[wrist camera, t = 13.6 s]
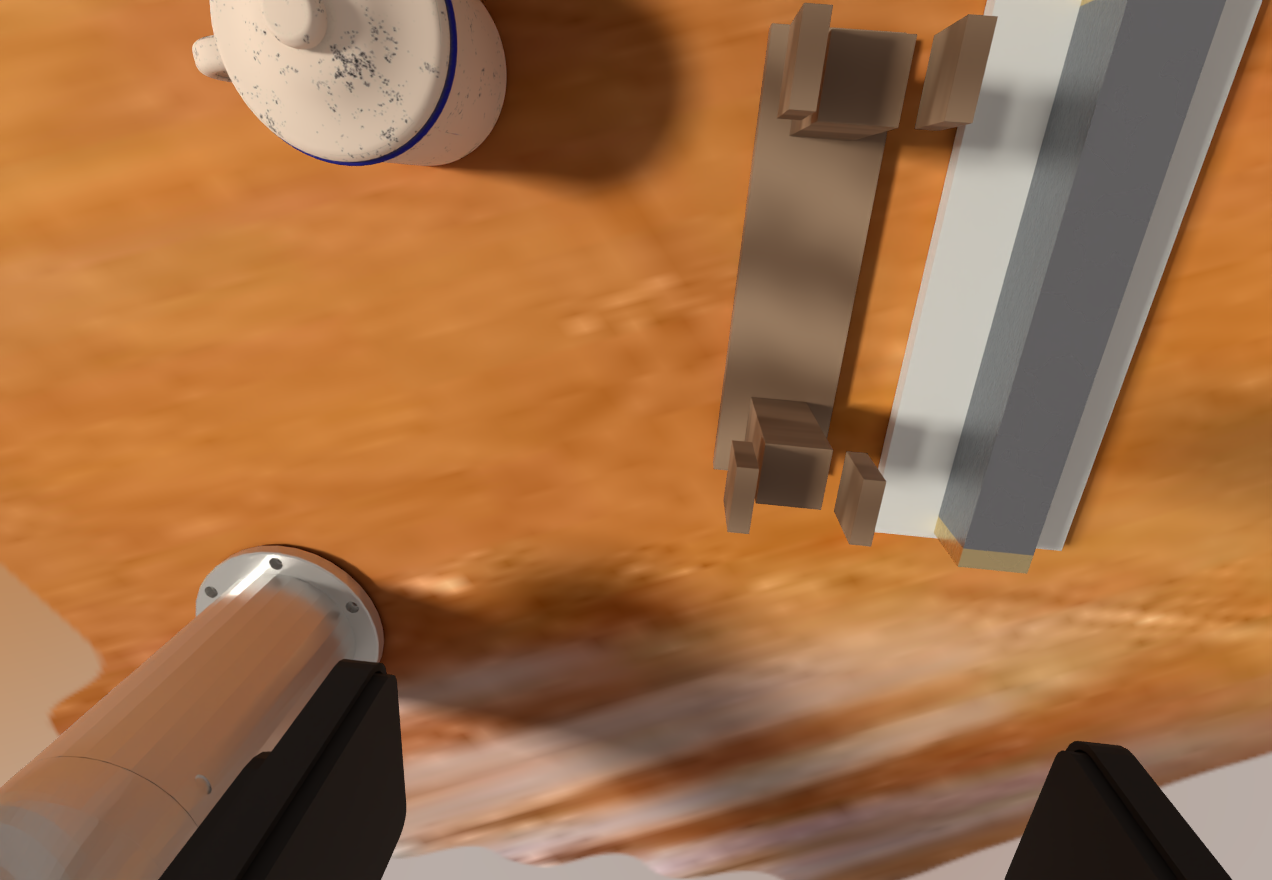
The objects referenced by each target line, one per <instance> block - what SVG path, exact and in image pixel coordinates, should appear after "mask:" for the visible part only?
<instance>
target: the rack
mask: <svg viewBox="0 0 1272 880" xmlns="http://www.w3.org/2000/svg"><path fill="white" fill-rule="evenodd" d="M832 8H833V5H826V4H811V3H804V4H803V6H802V7H801V9H800V10H799V12H798V14H797V15H796V17H795V18H794V20H793V21H792V23H791V25H787V24H773V23H772V24H771V26H770V28H769V35H768V43H767V51H766V58H765V66H764V74H763V81H762V89H761V97H760V105H759V112H758V120H757V128H756V135H755V143H754V151H753V158H752V166H751V174H750V182H749V189H748V197H747V205H746V212H745V220H744V228H743V236H742V243H741V251H740V259H739V266H738V274H737V282H736V290H735V297H734V305H733V313H732V320H731V328H730V336H729V343H728V351H727V359H726V367H725V374H724V382H723V390H722V397H721V405H720V413H719V421H718V428H717V436H716V444H715V451H714V459H713V466H714V469H720V470H728V473H727V480H726V487H725V494H724V507H725V515H726V523H727V531H728V532H734V533H744V534H749V530H750V524H751V518H752V511H753V505H754V499H755V501H756V503H758V504H768V505H778V506H788V507H798V508H808V509H818V510H821V507H822V502H823V497H824V492H825V487H826V482H827V477H828V472H829V468H830V463H831V458H832V453H833V449H832V447H831V445H830V444H829V442H828V440H827V435H828V430H829V425H830V420H831V415H832V410H833V405H834V400H835V395H836V390H837V385H838V379H839V374H840V369H841V364H842V359H843V354H844V349H845V344H846V339H847V334H848V329H849V324H850V319H851V314H852V308H853V303H854V298H855V293H856V288H857V283H858V278H859V273H860V268H861V263H862V258H863V253H864V248H865V243H866V237H867V232H868V227H869V222H870V217H871V212H872V207H873V202H874V197H875V192H876V187H877V182H878V177H879V172H880V166H881V161H882V156H883V151H884V146H885V141H886V136H887V131H889V130H892V129H896V128H898V127H899V122H900V117H901V112H902V107H903V102H904V97H905V92H906V87H907V82H908V77H909V72H910V67H911V62H912V57H913V52H914V48H915V43H916V38H917V34H907V33H901V32H887V31H873V30H858V29H844V28H830V21H831V14H832ZM997 19H998V16H985V15H971V14H968V15H967V16H965V17H964V18H962V19H960V20H959V21H957V22H956V23H954V24H952V25H951V26H949V27H947V28H946V29H944V30H943V31H941V32H939V33H938V34H936V35H935V36H934V39H933V44H932V49H931V54H930V58H929V63H928V68H927V72H926V77H925V82H924V87H923V91H922V96H921V101H920V106H919V110H918V115H917V120H916V125H915V129H921V130H934V131H941V130H945V129H949V128H954V127H958V126H962V125H967V124H971V123H973V119H974V115H975V110H976V106H977V102H978V98H979V94H980V90H981V85H982V81H983V77H984V73H985V69H986V65H987V60H988V56H989V52H990V48H991V44H992V40H993V35H994V31H995V27H996V23H997ZM885 486H886V480H885V479H884V477H883V476H882V474H881V473H880V471H879V470H878V468H877V467H876V466H875V464H874V463H873V461H872V460H871V458H870V457H869V455H868V454H867V453H859V452H849V451H847V452H846V457H845V461H844V466H843V471H842V476H841V480H840V485H839V490H838V495H837V499H836V504H835V509H834V512H835V514H836V516H837V519H838V521H839V523H840V525H841V527H842V529H843V532H844V534H845V536H846V538H847V540H848V543H849V544H852V545H862V546H871V544H872V540H873V536H874V532H875V527H876V523H877V519H878V515H879V511H880V507H881V502H882V498H883V494H884V490H885Z"/></svg>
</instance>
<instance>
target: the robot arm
mask: <svg viewBox="0 0 1272 880" xmlns="http://www.w3.org/2000/svg"><path fill="white" fill-rule="evenodd" d="M383 646H384V636H383V627H382V624H381V620H380V617H379V614H378V612H377V610H376V608H375V606H374V604H373V602H372V601H371V599H370V597H369V596H368V595H367V594H366V592H365V591H364V590H363V588H362V587H361V586H360V585H359V584H358V583H357V582H356V581H355V580H354V579H353V578H352V577H351V576H350V575H349V574H347V573H346V572H345V571H343V570H342V569H340V568H339V567H338V566H336V565H335V564H333V563H332V562H330V561H328V560H326V559H324V558H322V557H320V556H318V555H315V554H313V553H310V552H307V551H304V550H300V549H297V548H292V547H285V546H258V547H253V548H249V549H244V550H242V551H240V552H238V553H235V554H233V555H231V556H230V557H228V558H227V559H226V560H224V561H223V562H222V563H220V564H219V565H218V566H216V567H215V568H214V569H213V570H212V571H211V572H210V573H209V574H208V575H207V576H206V578H205V579H204V581H203V583H202V584H201V586H200V588H199V592H198V596H197V599H196V617H195V618H194V619H193V620H192V621H191V622H190V623H189V624H187V625H186V626H185V627H184V628H183V629H182V630H181V631H179V632H178V633H177V634H176V635H175V636H174V637H172V638H171V639H170V640H169V641H168V642H167V643H166V644H164V645H163V646H162V647H161V648H160V649H159V650H158V651H156V652H155V653H154V654H153V655H152V656H151V657H150V658H148V659H147V660H146V661H145V662H144V663H143V664H142V665H140V666H139V667H138V668H137V669H136V670H135V671H134V672H132V673H131V674H130V675H129V676H128V677H127V678H126V679H124V680H123V681H122V682H121V683H120V684H119V685H118V686H116V687H115V688H114V689H113V690H112V691H111V692H109V693H108V694H107V695H106V696H105V697H104V698H103V699H101V700H100V701H99V702H98V703H97V704H96V705H95V706H93V707H92V708H91V709H90V710H89V711H88V712H87V713H85V714H84V715H83V716H82V717H81V718H80V719H79V720H77V721H76V722H75V723H74V724H73V725H72V726H71V727H69V728H68V729H67V730H66V731H65V732H64V733H63V734H61V735H60V736H59V737H58V738H57V739H56V740H55V741H53V742H52V743H51V744H50V745H49V746H48V747H46V748H45V749H44V750H43V751H42V752H41V753H40V754H39V755H37V756H36V757H35V758H34V759H33V760H32V761H30V762H29V763H28V764H27V765H26V766H25V767H24V768H22V769H21V770H20V771H18V772H17V773H16V774H15V775H14V776H13V777H12V778H10V779H9V780H8V781H7V782H6V783H5V784H4V785H2V787H0V880H381V878H382V876H383V874H384V871H385V869H386V867H387V865H388V862H389V860H390V858H391V856H392V853H393V851H394V849H395V847H396V844H397V842H398V840H399V838H400V835H401V832H402V829H403V826H404V822H405V817H406V795H405V782H404V769H403V756H402V743H401V729H400V716H399V703H398V690H397V680H396V677H395V676H394V675H388V674H387V673H386V668H385V666H384V664H383V663H379V662H380V660H381V657H382V653H383ZM1005 880H1232V879H1231V878H1230V876H1229V875H1228V874H1227V873H1226V871H1225V870H1224V869H1223V867H1222V866H1221V865H1220V864H1219V863H1218V861H1217V860H1216V859H1215V857H1214V856H1213V855H1212V854H1211V852H1210V851H1209V850H1208V849H1207V847H1206V846H1205V845H1204V843H1203V842H1202V841H1201V840H1200V838H1199V837H1198V836H1197V835H1196V833H1195V832H1194V831H1193V830H1192V828H1191V827H1190V826H1189V824H1188V823H1187V822H1186V821H1185V820H1184V818H1183V817H1182V816H1181V815H1180V813H1179V812H1178V811H1177V809H1176V808H1175V807H1174V806H1173V804H1172V803H1171V802H1170V801H1169V799H1168V798H1167V797H1166V795H1165V794H1164V793H1163V792H1162V790H1161V789H1160V788H1159V787H1158V785H1157V784H1156V783H1155V782H1154V780H1153V779H1152V778H1151V776H1150V775H1149V774H1148V773H1147V771H1146V770H1145V769H1144V768H1143V766H1142V765H1141V764H1140V763H1139V761H1138V760H1137V759H1136V758H1135V756H1134V755H1133V754H1132V753H1131V752H1130V751H1129V750H1128V749H1126V748H1124V747H1122V746H1118V745H1109V744H1100V743H1091V742H1082V741H1074V742H1073V743H1071V744H1070V745H1069V746H1068V748H1067V749H1066V751H1060V752H1059V753H1058V754H1057V755H1056V757H1055V759H1054V762H1053V764H1052V766H1051V769H1050V771H1049V774H1048V776H1047V778H1046V781H1045V783H1044V786H1043V788H1042V790H1041V793H1040V795H1039V798H1038V800H1037V802H1036V805H1035V807H1034V810H1033V812H1032V814H1031V817H1030V819H1029V822H1028V824H1027V826H1026V829H1025V831H1024V834H1023V836H1022V838H1021V841H1020V843H1019V846H1018V848H1017V850H1016V853H1015V855H1014V857H1013V860H1012V862H1011V865H1010V867H1009V869H1008V872H1007V874H1006V877H1005Z"/></svg>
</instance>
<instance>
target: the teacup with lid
mask: <svg viewBox="0 0 1272 880" xmlns="http://www.w3.org/2000/svg"><path fill="white" fill-rule="evenodd" d="M210 13H211V21H212V27H213V32H214V35H211V36H206V37H203V38H201V39H199V40H197V41H196V42H195V43H194V44H193V47H192V51H193V56H194V60H195V63H196V66H197V68H198V70H199V71H200V72H201V73H203V74H204V75H206V76H208V77H210V78H213V79H217V80H222V81H227V82H233V84H234V86H235V88H236V89H237V91H238V93H239V94H240V96H241V97H242V99H243V100H244V102H245V103H246V104H247V105H248V107H249V108H250V109H251V111H252V112H253V113H254V114H255V115H256V116H257V117H258V118H259V120H260V121H261V122H262V123H263V124H265V125H266V126H267V127H268V128H269V129H270V130H271V131H272V132H273V133H275V134H276V135H277V136H278V137H280V138H281V139H282V140H283V141H285V142H286V143H288V144H289V145H291V146H292V147H294V148H295V149H297V150H299V151H301V152H303V153H305V154H306V155H309V156H311V157H314V158H316V159H319V160H322V161H325V162H328V163H333V164H338V165H347V166H364V165H372V164H377V163H381V162H387V163H398V164H410V165H421V166H436V165H443V164H447V163H451V162H453V161H456V160H459V159H461V158H463V157H465V156H466V155H468V154H469V153H471V152H472V151H473V150H475V149H476V148H477V147H478V146H479V145H480V144H481V143H482V142H483V141H484V140H485V139H486V137H487V136H488V135H489V134H490V132H491V130H492V129H493V127H494V125H495V124H496V122H497V120H498V117H499V115H500V112H501V109H502V106H503V102H504V97H505V92H506V78H507V72H506V60H505V54H504V49H503V45H502V42H501V39H500V36H499V33H498V30H497V28H496V26H495V23H494V22H493V20H492V18H491V16H490V14H489V12H488V11H487V9H486V8H485V6H484V5H483V3H482V2H481V1H480V0H210Z"/></svg>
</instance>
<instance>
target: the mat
mask: <svg viewBox="0 0 1272 880" xmlns="http://www.w3.org/2000/svg"><path fill="white" fill-rule="evenodd" d="M1081 1H1082V0H987V3H986V7H985V11H984V15H985V16H998V19H997V23H996V27H995V31H994V35H993V40H992V44H991V48H990V52H989V56H988V60H987V65H986V69H985V73H984V77H983V81H982V85H981V90H980V94H979V98H978V102H977V106H976V110H975V115H974V119H973V123H971V124H967V125H962V126H958V127H957V132H956V136H955V140H954V145H953V149H952V153H951V157H950V162H949V166H948V170H947V175H946V179H945V183H944V187H943V192H942V196H941V200H940V205H939V209H938V213H937V218H936V222H935V226H934V230H933V235H932V239H931V243H930V248H929V252H928V256H927V261H926V265H925V269H924V273H923V278H922V282H921V286H920V291H919V295H918V299H917V304H916V308H915V312H914V316H913V321H912V325H911V329H910V334H909V338H908V342H907V347H906V351H905V355H904V359H903V364H902V368H901V372H900V377H899V381H898V385H897V390H896V394H895V398H894V402H893V407H892V411H891V415H890V420H889V424H888V428H887V432H886V437H885V441H884V445H883V450H882V454H881V458H880V463H879V467H878V470H879V471H880V473H881V474H882V476H883V477H884V479H885V480H886V486H885V490H884V494H883V498H882V502H881V507H880V511H879V515H878V519H877V523H876V527H875V532H880V533H890V534H900V535H910V536H920V537H929V538H937V537H936V536H935V534H934V530H935V526H936V523H937V519H938V515H939V512H940V508H941V505H942V501H943V497H944V494H945V490H946V487H947V483H948V479H949V476H950V472H951V469H952V465H953V461H954V458H955V454H956V451H957V447H958V443H959V440H960V436H961V433H962V429H963V425H964V422H965V418H966V415H967V411H968V407H969V404H970V400H971V397H972V393H973V389H974V386H975V382H976V379H977V375H978V371H979V368H980V364H981V361H982V357H983V353H984V350H985V346H986V343H987V339H988V336H989V332H990V328H991V325H992V321H993V318H994V314H995V310H996V307H997V303H998V300H999V296H1000V292H1001V289H1002V285H1003V282H1004V278H1005V274H1006V271H1007V267H1008V264H1009V260H1010V256H1011V253H1012V249H1013V246H1014V242H1015V238H1016V235H1017V231H1018V228H1019V224H1020V220H1021V217H1022V213H1023V210H1024V206H1025V202H1026V199H1027V195H1028V192H1029V188H1030V184H1031V181H1032V177H1033V174H1034V170H1035V166H1036V163H1037V159H1038V156H1039V152H1040V148H1041V145H1042V141H1043V138H1044V134H1045V130H1046V127H1047V123H1048V120H1049V116H1050V112H1051V109H1052V105H1053V102H1054V98H1055V94H1056V91H1057V87H1058V84H1059V80H1060V76H1061V73H1062V69H1063V66H1064V62H1065V58H1066V55H1067V51H1068V48H1069V44H1070V41H1071V37H1072V33H1073V30H1074V26H1075V23H1076V19H1077V15H1078V12H1079V8H1080V5H1081ZM1261 3H1262V0H1226V2H1225V5H1224V8H1223V11H1222V14H1221V17H1220V20H1219V23H1218V26H1217V28H1216V31H1215V34H1214V37H1213V40H1212V43H1211V46H1210V49H1209V51H1208V54H1207V57H1206V60H1205V63H1204V66H1203V69H1202V72H1201V74H1200V77H1199V80H1198V83H1197V86H1196V89H1195V92H1194V95H1193V97H1192V100H1191V103H1190V106H1189V109H1188V112H1187V115H1186V118H1185V120H1184V123H1183V126H1182V129H1181V132H1180V135H1179V138H1178V141H1177V143H1176V146H1175V149H1174V152H1173V155H1172V158H1171V161H1170V164H1169V167H1168V169H1167V172H1166V175H1165V178H1164V181H1163V184H1162V187H1161V190H1160V192H1159V195H1158V198H1157V201H1156V204H1155V207H1154V210H1153V213H1152V215H1151V218H1150V221H1149V224H1148V227H1147V230H1146V233H1145V236H1144V238H1143V241H1142V244H1141V247H1140V250H1139V253H1138V256H1137V259H1136V261H1135V264H1134V267H1133V270H1132V273H1131V276H1130V279H1129V282H1128V285H1127V287H1126V290H1125V293H1124V296H1123V299H1122V302H1121V305H1120V308H1119V310H1118V313H1117V316H1116V319H1115V322H1114V325H1113V328H1112V331H1111V333H1110V336H1109V339H1108V342H1107V345H1106V348H1105V351H1104V354H1103V356H1102V359H1101V362H1100V365H1099V368H1098V371H1097V374H1096V377H1095V379H1094V382H1093V385H1092V388H1091V391H1090V394H1089V397H1088V400H1087V403H1086V405H1085V408H1084V411H1083V414H1082V417H1081V420H1080V423H1079V426H1078V428H1077V431H1076V434H1075V437H1074V440H1073V443H1072V446H1071V449H1070V451H1069V454H1068V457H1067V460H1066V463H1065V466H1064V469H1063V472H1062V474H1061V477H1060V480H1059V483H1058V486H1057V489H1056V492H1055V495H1054V497H1053V500H1052V503H1051V506H1050V509H1049V512H1048V515H1047V518H1046V520H1045V523H1044V526H1043V529H1042V532H1041V535H1040V538H1039V541H1038V544H1037V546H1036V548H1039V549H1048V550H1058V551H1062V548H1063V545H1064V543H1065V540H1066V537H1067V534H1068V532H1069V529H1070V526H1071V523H1072V521H1073V518H1074V515H1075V512H1076V510H1077V507H1078V504H1079V501H1080V499H1081V496H1082V493H1083V490H1084V488H1085V485H1086V482H1087V480H1088V477H1089V474H1090V471H1091V469H1092V466H1093V463H1094V460H1095V458H1096V455H1097V452H1098V449H1099V447H1100V444H1101V441H1102V438H1103V436H1104V433H1105V430H1106V427H1107V425H1108V422H1109V419H1110V417H1111V414H1112V411H1113V408H1114V406H1115V403H1116V400H1117V397H1118V395H1119V392H1120V389H1121V386H1122V384H1123V381H1124V378H1125V375H1126V373H1127V370H1128V367H1129V364H1130V362H1131V359H1132V356H1133V354H1134V351H1135V348H1136V345H1137V343H1138V340H1139V337H1140V334H1141V332H1142V329H1143V326H1144V323H1145V321H1146V318H1147V315H1148V312H1149V310H1150V307H1151V304H1152V301H1153V299H1154V296H1155V293H1156V291H1157V288H1158V285H1159V282H1160V280H1161V277H1162V274H1163V271H1164V269H1165V266H1166V263H1167V260H1168V258H1169V255H1170V252H1171V249H1172V247H1173V244H1174V241H1175V238H1176V236H1177V233H1178V230H1179V228H1180V225H1181V222H1182V219H1183V217H1184V214H1185V211H1186V208H1187V206H1188V203H1189V200H1190V197H1191V195H1192V192H1193V189H1194V186H1195V184H1196V181H1197V178H1198V175H1199V173H1200V170H1201V167H1202V165H1203V162H1204V159H1205V156H1206V154H1207V151H1208V148H1209V145H1210V143H1211V140H1212V137H1213V134H1214V132H1215V129H1216V126H1217V123H1218V121H1219V118H1220V115H1221V112H1222V110H1223V107H1224V104H1225V102H1226V99H1227V96H1228V93H1229V91H1230V88H1231V85H1232V82H1233V80H1234V77H1235V74H1236V71H1237V69H1238V66H1239V63H1240V60H1241V58H1242V55H1243V52H1244V49H1245V47H1246V44H1247V41H1248V39H1249V36H1250V33H1251V30H1252V28H1253V25H1254V22H1255V19H1256V17H1257V14H1258V11H1259V8H1260V6H1261Z"/></svg>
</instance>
